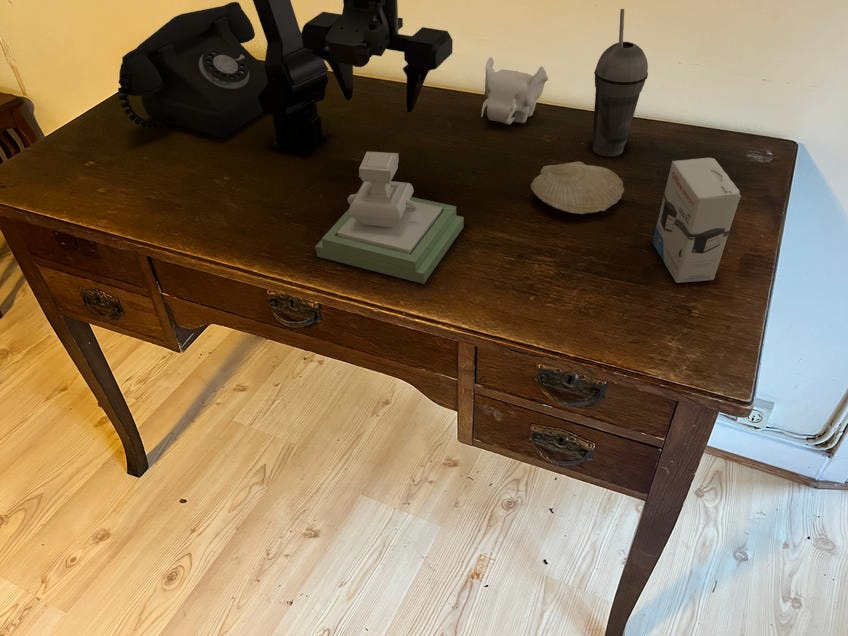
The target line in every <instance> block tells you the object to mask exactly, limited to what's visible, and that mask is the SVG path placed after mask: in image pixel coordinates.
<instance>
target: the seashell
mask: <svg viewBox="0 0 848 636" xmlns="http://www.w3.org/2000/svg"><path fill="white" fill-rule="evenodd" d="M530 189H531V190H532V193H534V194H535V196H536V197H537V198H538V199H540V200H541V201H542V202H543V203H545V204H547V205H548V206H550V207H552V208H554V209H556V210H561V211H563V212H567V213H571V214H579V215H584V214H595V213H598V212H605V211H606V210H607V209H610V207H612V206H613V205H616V204H617V203H618V202H619V200H621V199H622V195H623V193H624V192H625V187H624V182H623V179H621V178H620V177H619V175H618V174H617V173H615V172H614V171H613V170H611V169H610V168H607V167H605V166H600V165H599V166H598V165H592V164H591V165H589V164H588V165H587V164H585V163H584V162H583V161H580V160H579V161H573V162H566V163H559V164H550V165H544V166H543V167H542V168H541V170H540V174H539V175H537V176H535V178H534V179H533V181H531V183H530Z"/></svg>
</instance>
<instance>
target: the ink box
mask: <svg viewBox="0 0 848 636" xmlns="http://www.w3.org/2000/svg"><path fill="white" fill-rule="evenodd" d="M741 198H742V195H741V194H740V190H739V189H738V187H737V186H736V184H735V183H734V182H733V181H732V180H731V178H730V176H729V175H728V174H727V173H726V172H725V170H724V169H723V167H722V166H721V165H720V163H718V161H717V160H716V159H715V158H712V157H701V158H691V159H680V160H672V161H671V165H670V169H669V174H668V177H667V182H666V186H665V190H664V194H663V198H662V203H661V206H660V211H659V213H658V214H659V215H658V218H657V223H656V227H655V230H654V231H655V232H654V235H653V238H652V245H653V247H654V249H655V250H656V252H657V254H658V255H659V257H660V258H661V260H662V262H663V263H664V265H665V267H666V269H667V270H668V272H669V274H670V276H671V277H672V278H673V280H674V283H675V284H676V283H677V284H681V283H692V282H703V281H704V282H705V281H714V280H715V278H716V273H717V271H718V268H719V265H720V262H721V259H722V255H723V253H724V250H725V246H726V244H727V240H728V238H729V234H730V230H731V227H732V224H733V221H734V217H735V214H736V211H737V209H738V205H739V203H740V200H741Z"/></svg>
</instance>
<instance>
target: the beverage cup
mask: <svg viewBox="0 0 848 636" xmlns="http://www.w3.org/2000/svg"><path fill="white" fill-rule="evenodd" d="M619 11H620V12H619V32H618V42H616V43H613V44H611V45H610V46H609V47H607V48H606V49H605V50H604V51H603V52H602V54H601V55H600V56H599V59H598V61H597V64H596V66H595V69H594V72H593V73H594V87H595V93H594V94H595V95H594V108H593V109H594V110H593V127H592V151H593V152H594V153H595V154H597V155H599V156H602V157H617V156H620V155H622V153H623V152H624V148H625V146H626V143H627V140H628V138H629V133H630V129H631V127H632V122H633V120H634V116H635V113H636V108H637V105H638V102H639V98H640V95H641V92H642V91H643V89H644V86H645V83H646V80H647V79H648V77H649V71H648V70H649V63H648V59H647V56H646V54H645V52H644V50H643V49H642V48H641V47H640V46H639V45H637V44H635V43H633V42H631V41H624V30H625V29H624V27H625V8H620V9H619Z"/></svg>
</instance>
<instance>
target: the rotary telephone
mask: <svg viewBox="0 0 848 636" xmlns="http://www.w3.org/2000/svg"><path fill="white" fill-rule="evenodd" d="M245 12H246V11H244V10H243V8H242V6H241V4H240V3H239V2H238V1H231V2H229V3H226V4H223V5H221V6H220V5H219V6H215V7H210V8H205V9H200V10H195V11H189V12H183V13H180V14H178V15H176V16H174V17H172V18H171V19H169V21H167V22H166V23H165V24H164V25H162V26H161V27H159V28H158V29H157V30H156V31H154V33H152V34H151V35H150V36H148V38H146V39H144V40H143V41H142V42H141V43H140V44H139V45H138V46H137V47H135V48H134V49H132V50H130V51H128V52H127V53H126V54H124V55H122V56H121V64H120V69H119V77H118V79H119V80H118V84H119V85H120V87H118V88H117V92H118V93H120V94H123V95H118V99H119V100H121V101H124V102H123V103H121V104H120V106H121V108H128V109H125V110H124V114H125V115H129V117H128V119H129V120H130V121H134V124H135V125H137V126H138V125H140V126H141V128H144V129H145V128H146V127H147V129H149V130H152V129H153V128H154V129H155V130H158V129H160V127H161V128H165V127H166V124H167V125H171V124H173V125H176V126H179V127H183V128H186V129H190V130H193V131H196V132H199V133H203V134H205V135H206V134H207V135H209V136H213V137H216V138H225V137H227V136H228V135H230V134H231V133H233V132H234V131H236V130H237V129H239V128H241V127H243V125H245V124H246V123H248V122H250V121H251V120H253V119H254V118H256V117H257V116H259V115H260V114H262V113H263V112H264V111H263V109H262V107H261V104H260V102H259V99H258V97H259V95H260V94H261V92H262V91H263V89H264V88H265V86H266V85H267V83H268V80H267V76H266V72H265V68H264V63H262V62H260V60H258V59H257V58H256V56H255V57H254V56H253V55H252V54H251V53H250V52H249V51H248V49H246V48H245V46H243V45H242V44H245V43H249V42H250V41H252V40H253V39H255V37H256V33H255V29H254V25H253V24H252V22H251V19H250V18H249V16H248V15H247V14H246V13H245ZM129 96H132V97H140V96H141V97H140V98H141V103H142V106H143V108H144V110H145V112H146V115H148V117H150V118H153V119H155V120H147V119H144V118H142V117H141V116H140V115H138V114H137V113H136V110H135V111H134V110H133V107H132V105H131V104H130V99H128V97H129ZM131 113H132V114H131ZM165 122H166V124H165Z"/></svg>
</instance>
